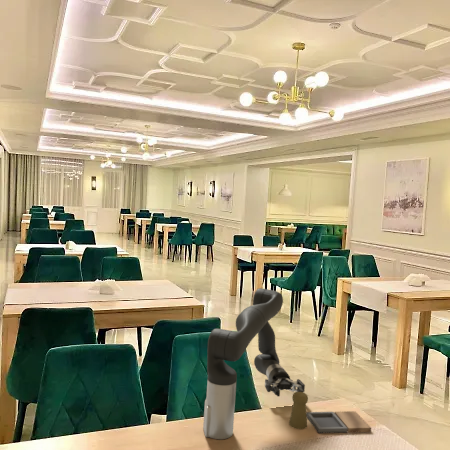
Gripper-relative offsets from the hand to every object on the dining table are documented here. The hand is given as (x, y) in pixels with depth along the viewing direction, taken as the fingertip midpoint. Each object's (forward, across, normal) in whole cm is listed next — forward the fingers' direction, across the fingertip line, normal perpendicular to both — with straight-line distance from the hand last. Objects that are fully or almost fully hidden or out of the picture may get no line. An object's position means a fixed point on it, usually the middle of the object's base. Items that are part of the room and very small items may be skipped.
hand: (290, 393), depth 171 cm
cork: (+10, 0, +7) cm, 12 cm away
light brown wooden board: (+10, +20, +6) cm, 23 cm away
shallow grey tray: (+10, +10, +6) cm, 16 cm away
